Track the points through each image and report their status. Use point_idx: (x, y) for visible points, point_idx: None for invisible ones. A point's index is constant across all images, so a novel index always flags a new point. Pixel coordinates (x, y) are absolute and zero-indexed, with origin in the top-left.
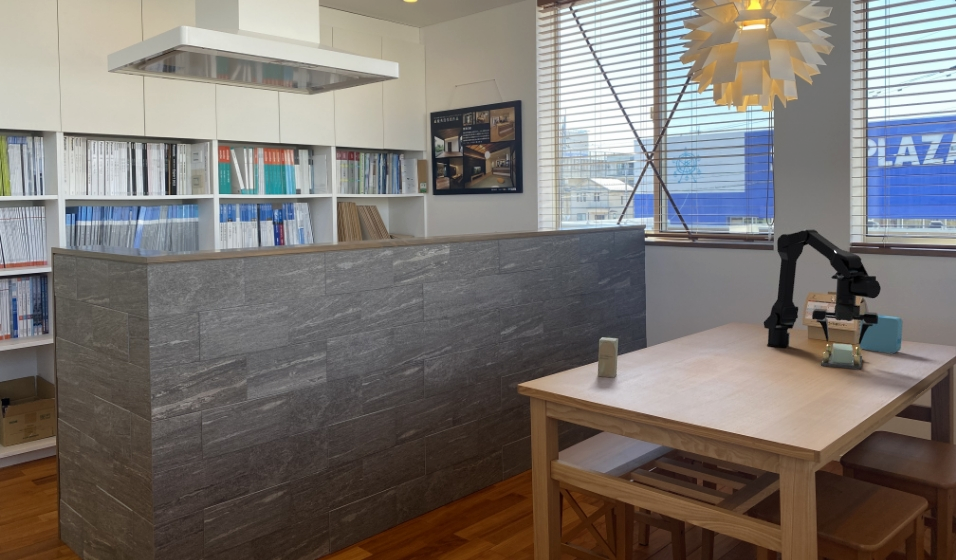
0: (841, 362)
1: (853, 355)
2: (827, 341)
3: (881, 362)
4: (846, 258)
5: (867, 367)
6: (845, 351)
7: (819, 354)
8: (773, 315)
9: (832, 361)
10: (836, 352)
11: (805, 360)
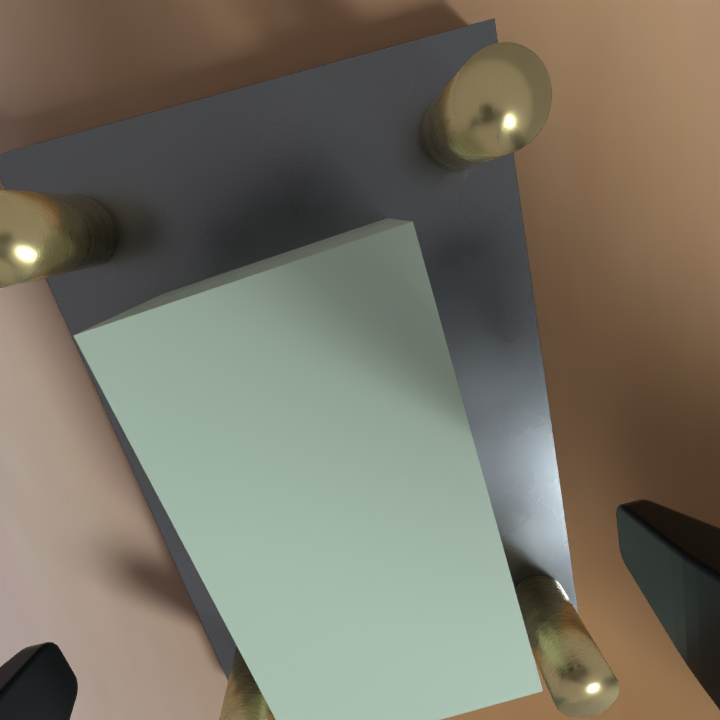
0: (280, 242)
1: None
2: (630, 503)
3: None
4: None
5: (32, 359)
6: (203, 288)
7: (621, 626)
8: None
9: None
10: (352, 237)
11: (707, 245)
